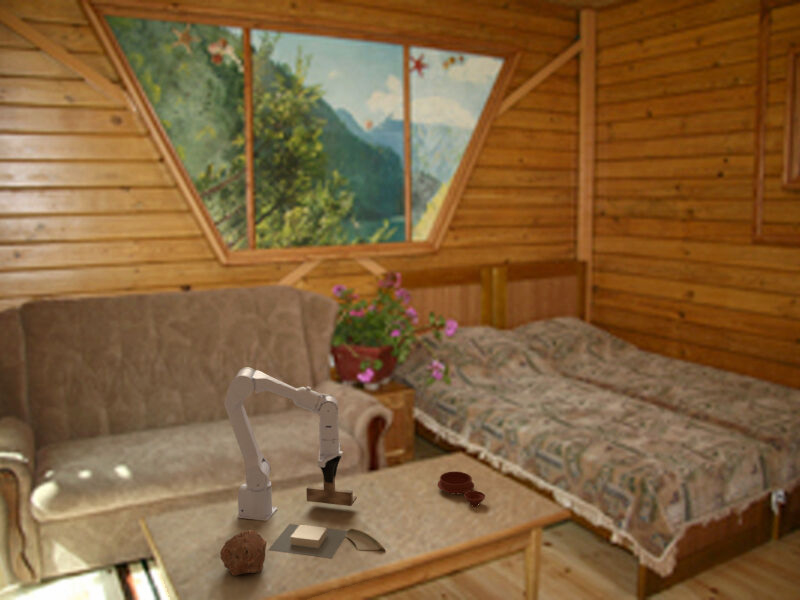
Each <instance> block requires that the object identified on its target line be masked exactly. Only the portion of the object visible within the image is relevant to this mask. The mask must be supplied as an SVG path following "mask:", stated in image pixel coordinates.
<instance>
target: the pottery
mask: <svg viewBox="0 0 800 600" xmlns="http://www.w3.org/2000/svg"><path fill="white" fill-rule="evenodd" d="M437 488H438V489H440V490H441V491H443V492H446V493H448V492H449V493H448V494H450V493H455V494H457V493H463V496H464V498H465V499H466V501H467V502H468V503H469V505H470V504H471V505H473V506H472V507H477V506H476V505H478V504H479V505H480V504H481V503H482V502H483V501H484V500H485V498H486V494H484V492H481V491H478V490H473V489H474V488H475V484H474V482H473V478H472V476H471V475H470V474H469V473H466V472H462V471H447V472H444V473H442V474H441V475H440V477H439V481H437ZM455 494H454V495H455ZM471 505H470V506H471Z"/></svg>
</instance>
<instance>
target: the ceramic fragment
mask: <svg viewBox="0 0 800 600" xmlns="http://www.w3.org/2000/svg"><path fill="white" fill-rule="evenodd" d="M347 531H348V532H347V533H346V535H345V538H346V539H348V540H349V541H350V542H351V543H352V544H354V546H355V547H356V550H357V551H381V552H386V549H385V548H384V546H383V545H382V544H381V543H380V541H378V540H377V539H376V538H375V537H374V536H373V535H370V534H369V533H367V532H365V531H363V530H360V529H357V528H353V527H352V528H349V529H348V530H347Z"/></svg>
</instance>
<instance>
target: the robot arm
mask: <svg viewBox="0 0 800 600" xmlns="http://www.w3.org/2000/svg"><path fill="white" fill-rule="evenodd" d="M265 391H267V392H271V393H273V394H276V395H278V396H281V397H285V398H288V399H290V400H292V402H293V404H294V405H295V406H296V407H298V408H302V409H304V410H307V411H310V412H312V413H314V414H318V416H319V422H318V434H319V437H318V438H319V440H318V441H319V451H318V460H317V467H318V468H320V470H321V472H322V475H323V477H324V479H325V482H327V483H332V482H333V477H334V476H335V477H336V476H337V470H338V466H339V463H340V460H341V459H342V456H343V454H344V452H343V451H341V448H342V447H341V442H340V432H339V431H340V427H339V426H340V424H339V413H340V411H339V401H338V399H337V398H336V397H335V396H334V395H332V394H327V393H326V394H325V393H320V392H317V391H314V390H312V387H310V386H309V385H307V386H306V387H304V386H301V387H300V386H299V387H294V386H292V385H290V384H288V383H285V382H284V381H281V380H279V379H276V378H274V377H272V376H270V375H268V374H266V373H264V372H263V371H261V370H257V369H256V370H255V369H254V368H252V367H248V366H247V367H243V368H240V369H239V370H238V372H237V373H236V374H235V376H234V377H233V378H232V380H231V383H230V384H229V385H228V387H227V392H226V396H225V398H224V399H225V400H224V408H225V411H226V413H227V416H228V419H229V421H230V425H231V427H232V430H233V433H234V436H235V438H236V441H237V444H238V447H239V450H240V452H241V455H242V457H243V458H242V459H243V462H244V465H243V466H244V472H245V476H246V477H245V483H242V484H241V485H240V487H239V489H238V492H237V493H238V494H237V508H238V515H237V518H238V519H239V518H240V519H248V520H255V521H262V522H263V521H264V522H268V520H269V519H270V518H271V517H272V516H273V515H274V513H275V512H277V510H278V507H276V506H273V496H272V495H273V494H272V491H273V490H272V481H271V480H270V479H269V476H270V474H271V471H272V466H271V464H270V462H269V461H268V460H267V459H266V458H265V456H264V453H263V452H261V450H260V448H259V445H258V442H257V439H256V437H255V433H254V431H253V428H252V425H251V422H250V420H249V416H248V414H247V411H246V409H245V405H244V402H245V400H246V399H247V398H248V397H249V396H250V395H251V394H252V393H253V392H254V393H255V394H260V393H262V392H263V393H264V392H265ZM324 479H323V480H324Z"/></svg>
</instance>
